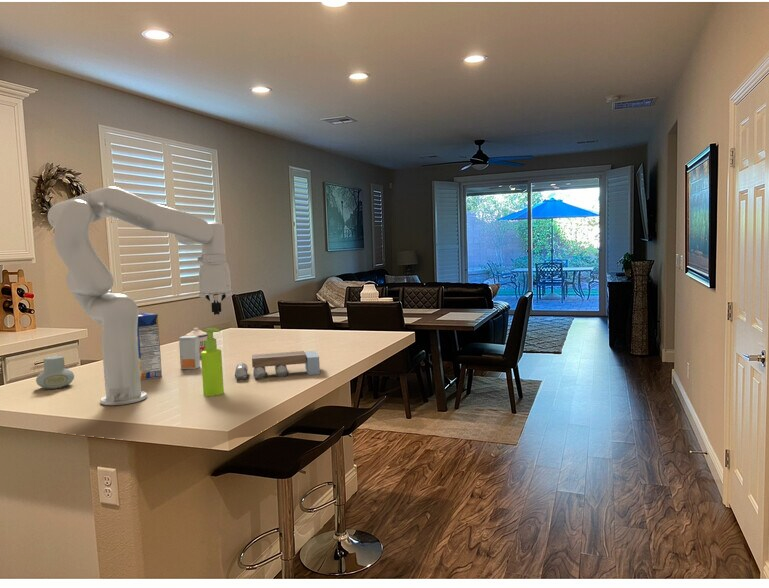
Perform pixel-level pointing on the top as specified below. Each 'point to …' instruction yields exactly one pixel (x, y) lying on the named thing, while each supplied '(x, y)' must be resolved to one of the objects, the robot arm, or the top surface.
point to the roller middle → (259, 372)
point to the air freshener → (54, 374)
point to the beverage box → (148, 346)
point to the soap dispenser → (212, 366)
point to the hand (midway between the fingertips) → (216, 314)
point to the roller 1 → (241, 371)
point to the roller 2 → (281, 370)
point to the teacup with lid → (201, 336)
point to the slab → (278, 359)
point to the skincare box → (189, 352)
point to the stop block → (312, 363)
